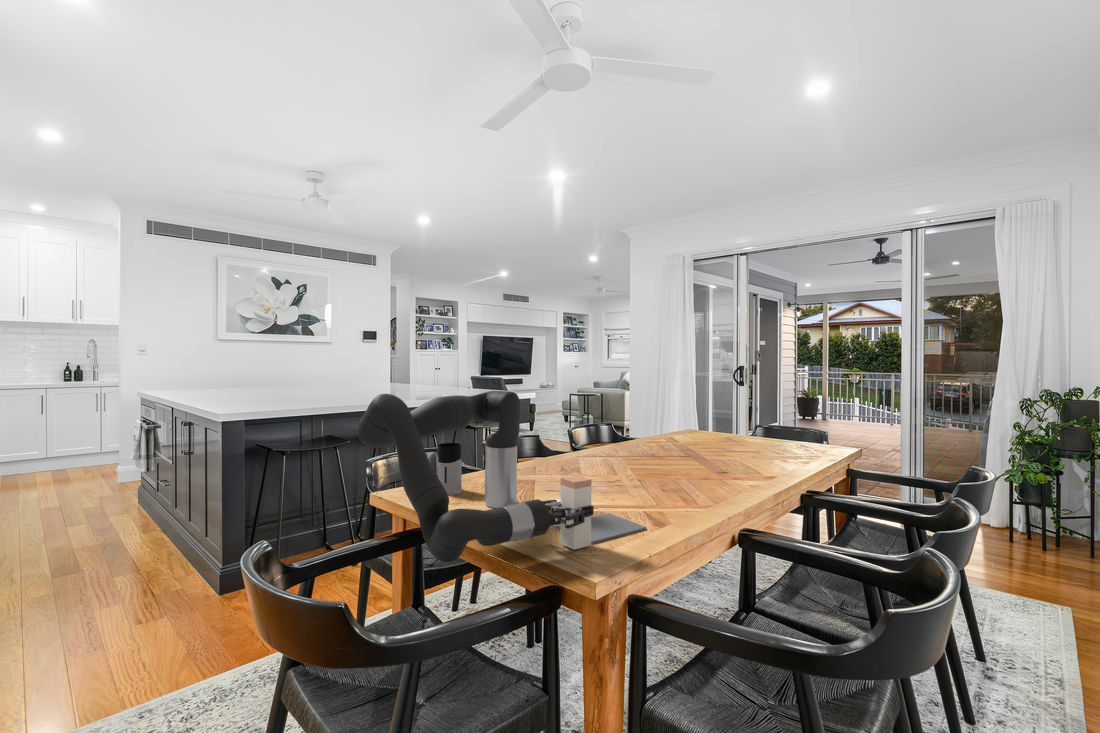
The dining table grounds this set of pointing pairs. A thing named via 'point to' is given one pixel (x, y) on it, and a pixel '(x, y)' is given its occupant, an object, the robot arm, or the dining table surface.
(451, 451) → the grey coffee pot
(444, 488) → the robot arm
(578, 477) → the capped block
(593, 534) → the rubber mat
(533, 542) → the dining table surface
